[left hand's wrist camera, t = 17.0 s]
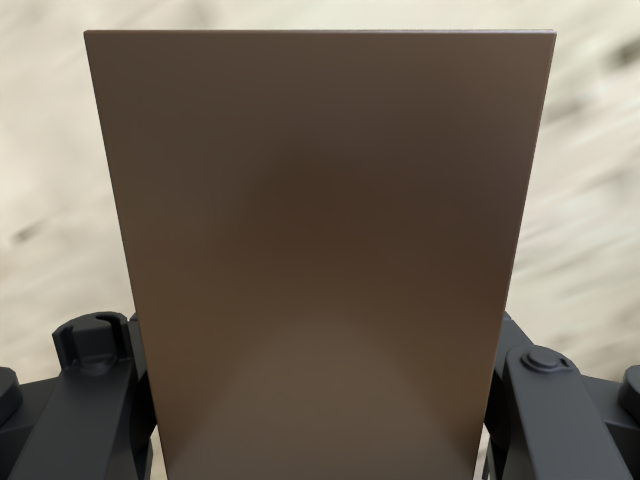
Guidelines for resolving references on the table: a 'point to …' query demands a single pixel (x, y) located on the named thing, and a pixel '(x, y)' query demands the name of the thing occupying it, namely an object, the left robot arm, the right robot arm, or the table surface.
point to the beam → (320, 238)
